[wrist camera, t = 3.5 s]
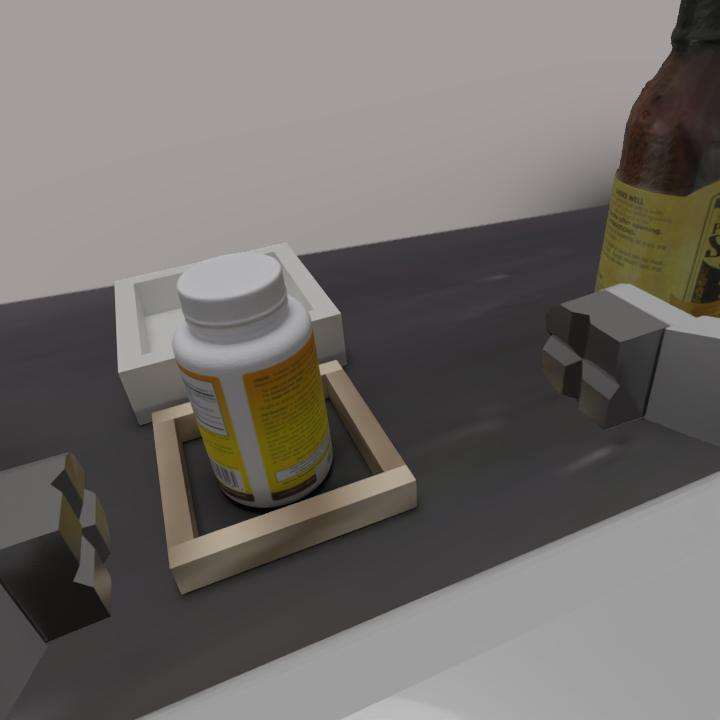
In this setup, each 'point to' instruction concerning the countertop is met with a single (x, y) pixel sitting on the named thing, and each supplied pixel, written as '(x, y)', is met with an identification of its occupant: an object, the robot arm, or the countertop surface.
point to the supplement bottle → (253, 379)
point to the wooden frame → (286, 525)
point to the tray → (164, 313)
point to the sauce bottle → (672, 176)
